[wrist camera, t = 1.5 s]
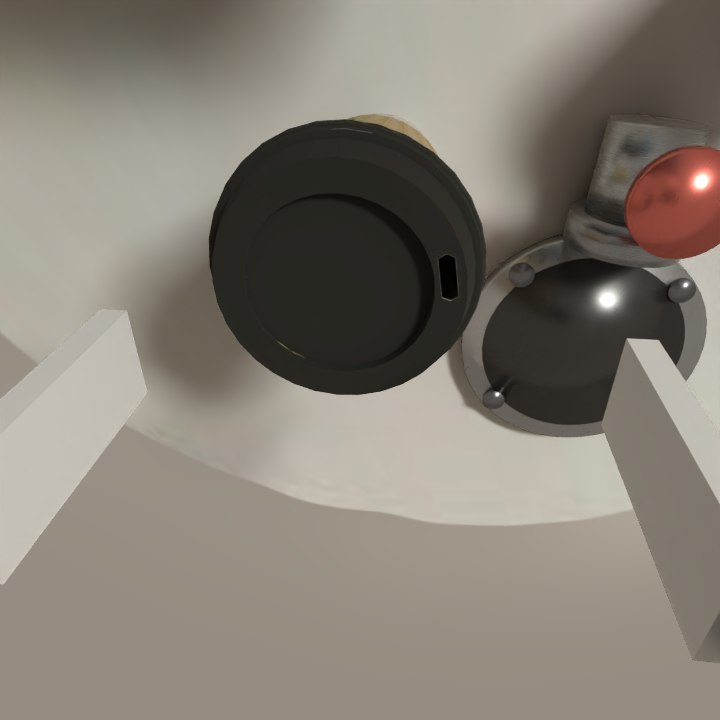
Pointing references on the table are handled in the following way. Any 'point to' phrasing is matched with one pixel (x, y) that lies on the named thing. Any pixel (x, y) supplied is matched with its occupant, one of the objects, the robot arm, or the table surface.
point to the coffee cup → (347, 254)
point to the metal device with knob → (601, 282)
